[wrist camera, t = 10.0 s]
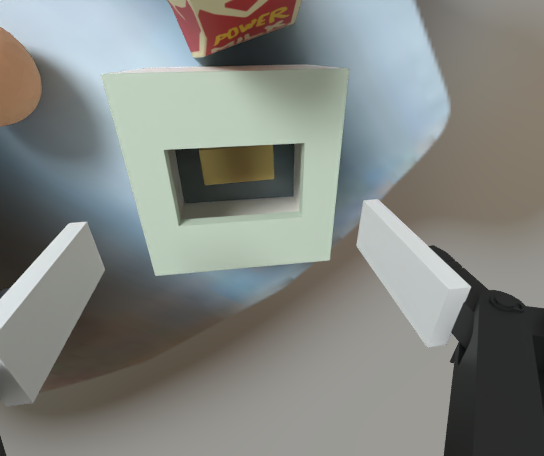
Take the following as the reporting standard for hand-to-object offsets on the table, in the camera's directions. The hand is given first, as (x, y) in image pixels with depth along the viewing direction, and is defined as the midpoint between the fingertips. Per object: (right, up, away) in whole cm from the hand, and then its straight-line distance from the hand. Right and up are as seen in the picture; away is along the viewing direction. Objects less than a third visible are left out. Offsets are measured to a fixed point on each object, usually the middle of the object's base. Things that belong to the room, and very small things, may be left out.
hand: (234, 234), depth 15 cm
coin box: (-2, +9, +15) cm, 18 cm away
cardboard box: (-2, +9, +15) cm, 18 cm away
